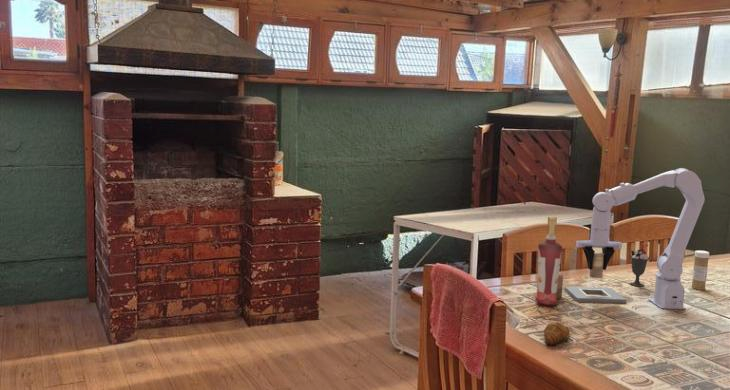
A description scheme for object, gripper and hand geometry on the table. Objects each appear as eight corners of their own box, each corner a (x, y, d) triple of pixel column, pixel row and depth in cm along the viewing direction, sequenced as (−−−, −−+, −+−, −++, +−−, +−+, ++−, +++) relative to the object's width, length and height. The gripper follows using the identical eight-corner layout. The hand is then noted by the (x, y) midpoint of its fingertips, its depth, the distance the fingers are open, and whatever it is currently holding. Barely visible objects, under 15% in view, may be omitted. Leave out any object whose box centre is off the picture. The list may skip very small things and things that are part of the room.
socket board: (626, 303, 207) (626, 299, 207) (576, 301, 207) (577, 297, 207) (610, 291, 220) (611, 287, 220) (564, 289, 220) (564, 286, 220)
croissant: (552, 330, 180) (553, 313, 180) (576, 335, 176) (577, 318, 176) (535, 344, 169) (536, 326, 168) (560, 350, 165) (562, 331, 165)
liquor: (558, 308, 199) (565, 220, 195) (534, 306, 201) (541, 218, 197) (556, 301, 206) (563, 216, 202) (533, 299, 208) (539, 214, 204)
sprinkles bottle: (694, 285, 231) (698, 249, 229) (707, 288, 227) (711, 252, 225) (688, 287, 228) (692, 251, 226) (702, 291, 224) (706, 253, 222)
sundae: (650, 287, 226) (654, 246, 224) (631, 287, 226) (635, 245, 224) (642, 282, 233) (646, 242, 230) (624, 282, 233) (627, 241, 231)
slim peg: (604, 278, 211) (605, 254, 210) (591, 278, 211) (593, 254, 210) (599, 275, 215) (601, 252, 214) (587, 275, 215) (589, 251, 214)
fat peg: (564, 298, 210) (566, 278, 209) (542, 298, 210) (544, 277, 209) (557, 292, 217) (559, 272, 216) (536, 291, 217) (538, 271, 216)
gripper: (617, 227, 214) (613, 266, 216) (574, 225, 214) (571, 265, 216) (625, 231, 207) (622, 272, 209) (581, 229, 207) (577, 270, 209)
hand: (596, 269), depth 212 cm, fingers closed on slim peg, 4 cm apart
